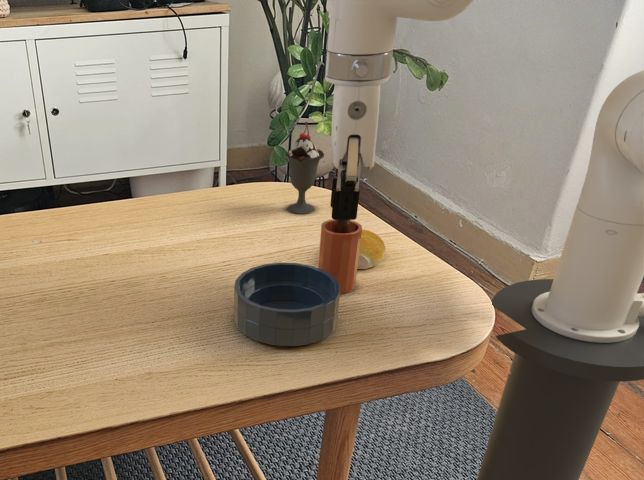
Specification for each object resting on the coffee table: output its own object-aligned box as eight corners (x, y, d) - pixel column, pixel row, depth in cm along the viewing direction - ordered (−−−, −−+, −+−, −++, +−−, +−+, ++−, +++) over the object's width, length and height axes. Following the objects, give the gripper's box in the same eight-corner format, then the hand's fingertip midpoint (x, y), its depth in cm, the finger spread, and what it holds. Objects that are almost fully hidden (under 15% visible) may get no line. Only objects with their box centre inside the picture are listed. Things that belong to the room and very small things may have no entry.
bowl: (333, 299, 89) (337, 264, 86) (338, 352, 79) (342, 314, 76) (238, 296, 91) (238, 261, 88) (230, 347, 81) (230, 309, 78)
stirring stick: (342, 278, 93) (354, 170, 84) (343, 285, 92) (355, 175, 83) (328, 278, 94) (338, 169, 85) (328, 284, 92) (339, 175, 83)
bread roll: (386, 248, 102) (390, 225, 100) (379, 273, 95) (382, 248, 93) (333, 242, 105) (336, 219, 103) (323, 266, 98) (325, 241, 96)
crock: (353, 276, 95) (360, 219, 90) (356, 294, 90) (363, 235, 85) (316, 275, 96) (320, 218, 91) (316, 293, 91) (321, 234, 86)
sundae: (305, 199, 121) (311, 117, 113) (326, 211, 116) (334, 126, 108) (275, 206, 119) (278, 123, 111) (295, 218, 114) (300, 132, 105)
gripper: (399, 81, 69) (377, 239, 80) (383, 53, 83) (366, 191, 93) (328, 81, 71) (315, 237, 81) (324, 54, 84) (313, 191, 94)
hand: (343, 211), depth 87 cm, fingers open, 3 cm apart
